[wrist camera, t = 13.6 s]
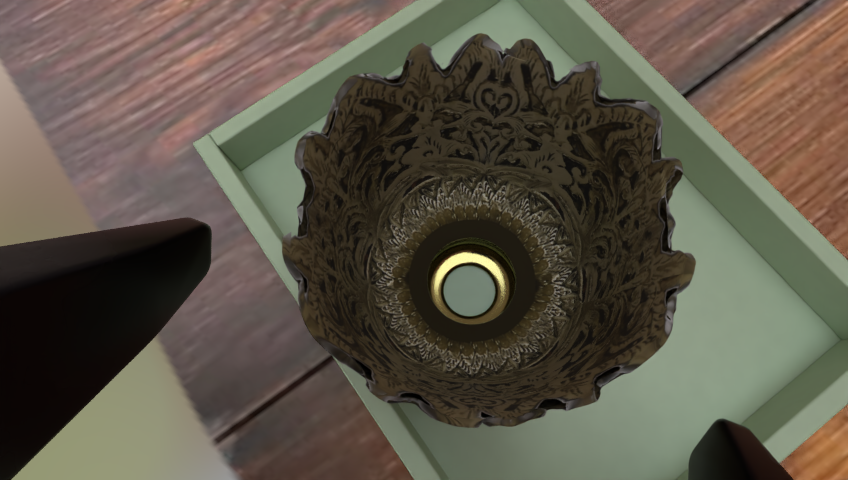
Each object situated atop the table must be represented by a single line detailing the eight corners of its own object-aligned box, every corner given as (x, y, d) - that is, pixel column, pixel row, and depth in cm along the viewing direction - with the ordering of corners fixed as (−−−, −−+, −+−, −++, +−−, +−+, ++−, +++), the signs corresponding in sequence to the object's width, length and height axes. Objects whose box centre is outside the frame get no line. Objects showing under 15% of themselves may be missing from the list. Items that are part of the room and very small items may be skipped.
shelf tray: (524, 623, 15) (540, 672, 13) (226, 177, 20) (191, 142, 17) (850, 345, 17) (926, 336, 14) (510, -9, 21) (519, -67, 19)
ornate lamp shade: (583, 426, 16) (709, 455, 8) (340, 399, 16) (243, 404, 9) (587, 192, 18) (692, 39, 10) (371, 175, 18) (315, 18, 11)
